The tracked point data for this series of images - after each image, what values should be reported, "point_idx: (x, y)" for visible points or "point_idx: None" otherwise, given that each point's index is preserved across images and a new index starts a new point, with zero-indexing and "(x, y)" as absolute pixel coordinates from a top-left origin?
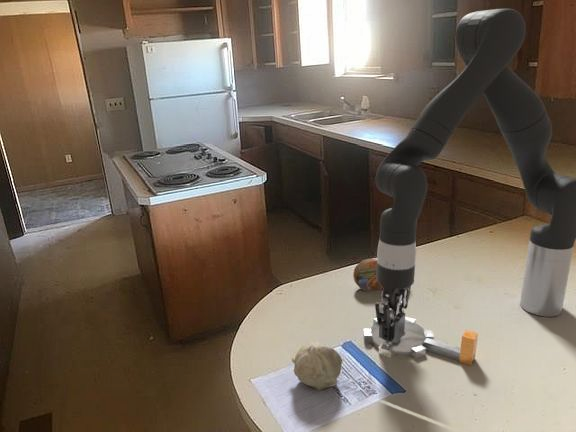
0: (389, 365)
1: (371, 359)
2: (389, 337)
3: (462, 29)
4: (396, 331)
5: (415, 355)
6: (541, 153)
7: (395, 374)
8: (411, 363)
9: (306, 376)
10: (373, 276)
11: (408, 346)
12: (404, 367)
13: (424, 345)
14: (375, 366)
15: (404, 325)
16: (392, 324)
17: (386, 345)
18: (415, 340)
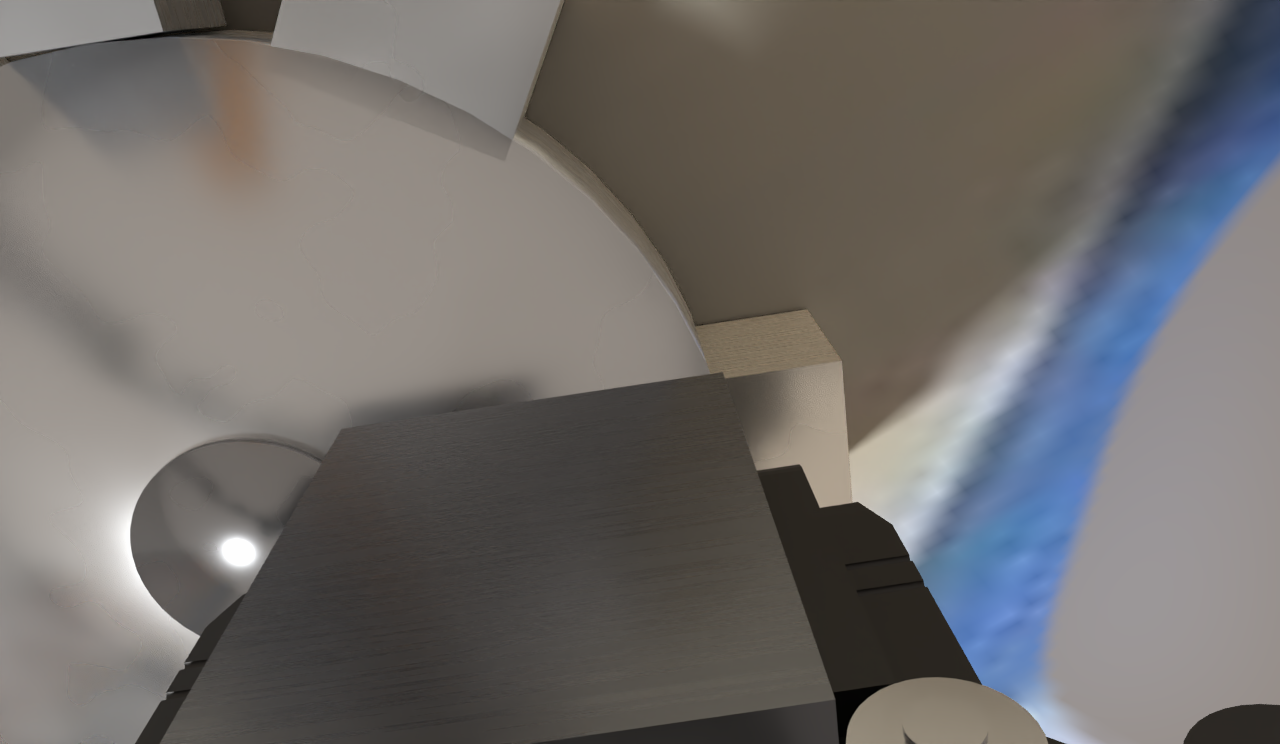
0: (937, 244)
1: (950, 496)
2: (864, 535)
3: None
4: (763, 523)
5: (561, 5)
6: None
7: (1094, 58)
8: (685, 5)
9: None
10: None
11: (500, 205)
12: (852, 40)
13: (190, 9)
14: (1067, 377)
15: (294, 535)
16: (998, 740)
17: None
18: (229, 204)
